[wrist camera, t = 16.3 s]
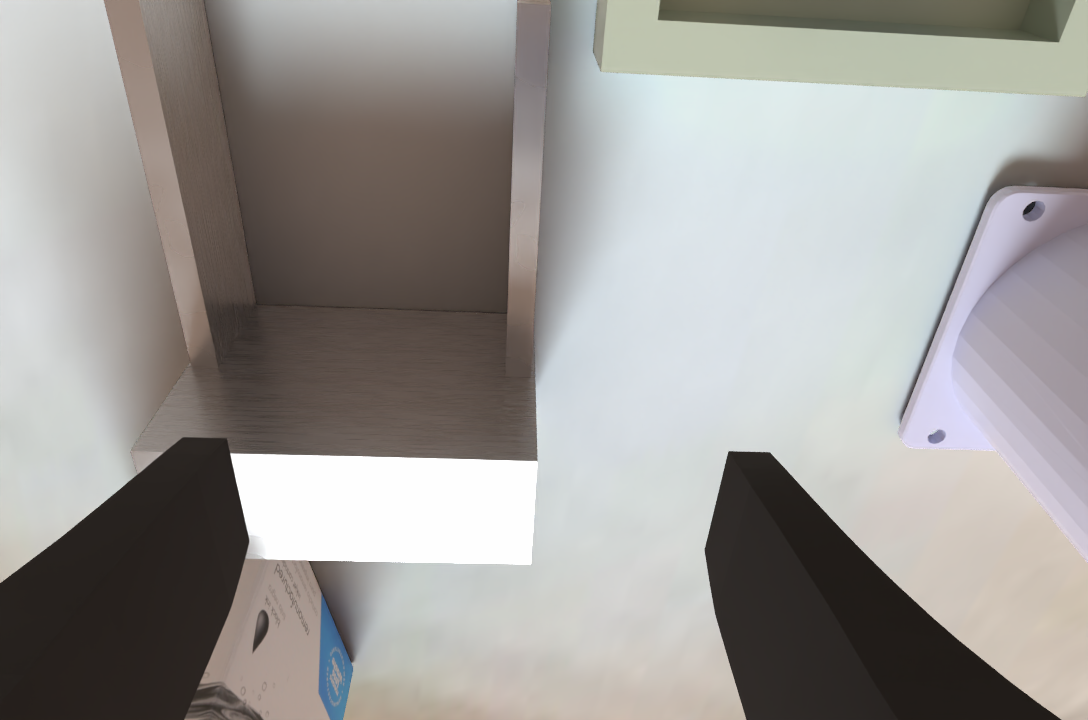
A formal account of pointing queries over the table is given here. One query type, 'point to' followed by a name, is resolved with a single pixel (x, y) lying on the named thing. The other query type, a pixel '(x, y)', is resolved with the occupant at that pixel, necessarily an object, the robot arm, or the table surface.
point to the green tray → (854, 42)
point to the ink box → (276, 651)
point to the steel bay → (336, 343)
